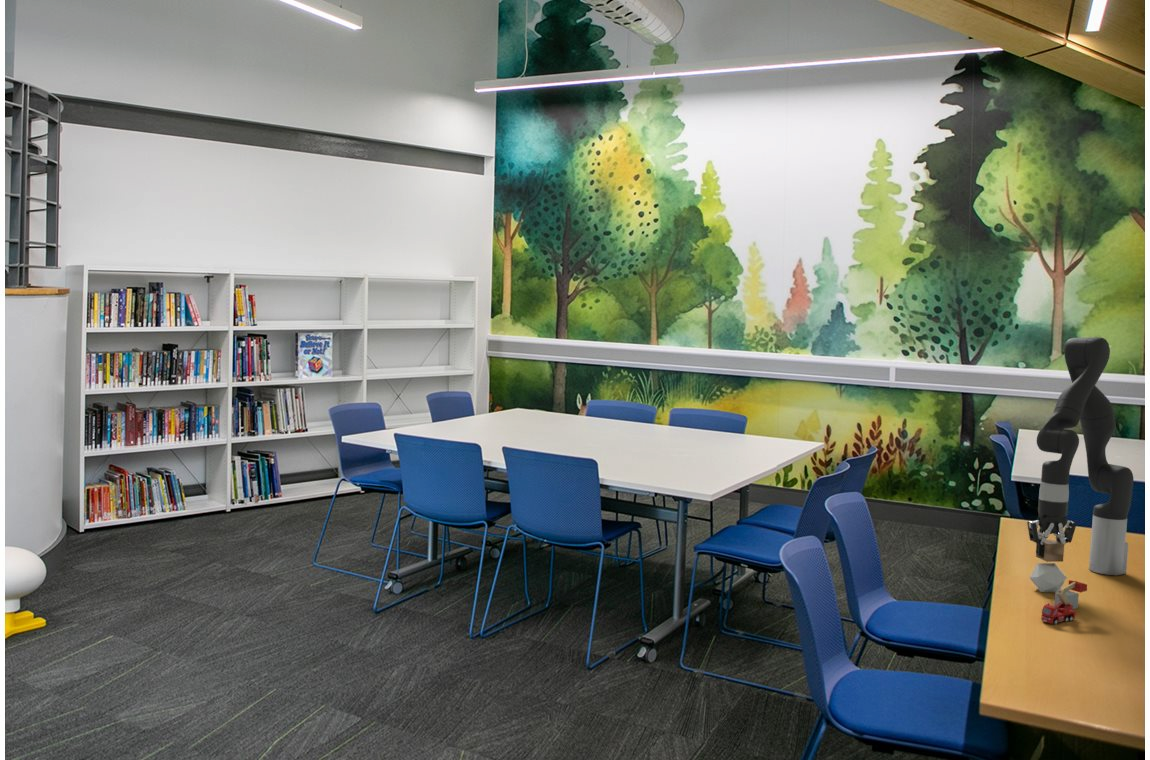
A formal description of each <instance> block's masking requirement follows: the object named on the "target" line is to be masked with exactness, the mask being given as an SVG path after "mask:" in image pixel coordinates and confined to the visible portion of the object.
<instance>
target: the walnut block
mask: <svg viewBox="0 0 1150 760" xmlns="http://www.w3.org/2000/svg"><path fill="white" fill-rule="evenodd" d="M1044 545H1045V548H1044V557H1043V558H1040V557H1038V556H1037V554H1036V553H1035V557H1036V558H1038V559H1040V560H1042V561H1045V563H1050V562H1051V563H1053V562H1054V563H1055V562H1064V557H1065V556H1064V555H1065V545H1064V544H1063V543H1060V542H1058V541H1056V539H1055V540H1054V539H1046V541H1045V543H1044Z"/></svg>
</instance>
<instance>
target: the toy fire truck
mask: <svg viewBox="0 0 1150 760" xmlns="http://www.w3.org/2000/svg"><path fill="white" fill-rule="evenodd" d="M1067 591H1072V592H1076V593H1084V592H1087V591H1088V584H1086V583H1084V582H1080V581H1077V580H1071V579H1069V580H1068V585H1066V586H1064V587H1063V588H1062V587H1061V589H1059V590H1058V592H1057V593H1056V595H1057V596H1058V598H1059V599H1060V601H1061V602H1060V603H1059V604H1057V605H1056V606H1055V605H1051V604H1050V603H1047V604H1044V605H1043V607H1042V610H1041V619H1040V620H1041V621H1043V622H1044V623H1048V624H1050V625H1051V624H1053V625H1057V624H1058V623H1061V622H1065V623H1067V622H1072V621H1073V620H1074V619H1076V613H1077V612H1076V610H1074V609H1073V605H1071V604H1070V602H1069V599H1068V597H1067V594H1066V592H1067Z"/></svg>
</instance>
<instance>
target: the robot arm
mask: <svg viewBox="0 0 1150 760" xmlns="http://www.w3.org/2000/svg"><path fill="white" fill-rule="evenodd" d="M1110 347H1111V346H1110V344H1109V342H1108V341H1107V339H1105V337H1101V336H1098V337H1097V336H1094V337H1090V336H1089V337H1071V338H1069V339H1067V341H1066V342H1065V343H1064V348H1063V354H1064V355H1063V356H1064V361H1065V365H1066V368H1067V371H1068V375H1069V378H1070V380H1071V381H1070V382H1071V383H1070V384H1069V385H1068V386H1067V387H1066V388H1065V389H1064V390H1063V391H1062V392H1061V394H1060V395H1059V396H1058V399H1057V401H1056V405H1055V407H1054V410H1053V412H1052V414H1051V416H1050V417H1049V418H1048V420H1047V421H1046V422H1045V423H1044V424H1043V425H1042V427H1041V428H1040V430H1039V431H1038V434H1037V436H1036V445H1037V447H1038V449H1039V450H1040V451H1042V452H1045V453H1051V454H1057V455H1058V454H1060V455H1061V456H1060V458H1059V459H1057V460H1048V461H1047V460H1046V461H1045V462H1043V463H1042V465H1041V466H1042V467H1041V480H1040V486H1039V493H1038V505H1037V512H1038V517H1037V518H1036V520H1033V521H1031V520H1028V521H1027V522H1026V524H1027V529H1028V536H1029V541H1031V542H1034V543H1035V545H1036V546H1035V555H1036V554H1037V556H1038V557H1040V558H1043V557H1044V548H1045V545H1044V543H1045V541H1046V540H1048V538H1049V536H1050V535H1052V534H1053V535H1054V537H1055V541H1058V542H1060V543H1063V544H1064V546H1065V545H1066V544H1067V543H1071V542H1072V541H1073V538H1074V534H1075V531H1076V527H1077V523H1076V522H1074V521H1072V520H1068V519H1067V516H1068V512H1069V511H1068V510H1069V501H1070V500H1069V497H1070V490H1069V489H1070V488H1069V487H1070V485H1069V484H1070V471H1071V468H1072V467H1071V466H1072V463H1073V460H1074V458H1075V455H1076V453H1077V451H1078V448H1079V446H1080V437H1079V435H1078V433H1077V431H1074V430H1073V428H1076V427H1077V426H1078V425H1079V423H1080V427H1081V430H1082V435H1083V440H1084V446H1085V447H1084V448H1085V452H1086V453H1085V454H1086V462H1087V474H1088V475H1087V476H1088V481H1089V485H1090V487H1091V488H1092V490H1094V491H1095V492H1096V493H1101V494H1106V495H1110V497H1109V501H1108V502H1106V503H1099V504H1095V505H1094V506H1093V509H1092V524H1091V537H1090V538H1091V539H1090V551H1089V562H1088V563H1089V564H1088V569H1089V570H1090V571H1091V572H1093V573H1096V574H1101V575H1107V576H1108V575H1109V576H1121V575H1123V574H1127V570H1128V569H1127V568H1128V566H1127V565H1128V556H1129V555H1128V553H1129V542H1127V541H1126V540H1127V539H1126V538H1127V526H1128V514H1129V511H1130V509H1131V505H1132V503H1131V502H1132V498H1133V497H1132V496H1133V488H1134V474H1133V472H1132V470H1131V469H1130V468H1129V467H1128V466H1127V467H1126V466H1123V465H1117V464H1111V463H1108V461H1107V460H1108V459H1107V455H1106V454H1107V453H1106V449H1107V445H1108V443H1109V442H1110V440H1111V438H1112V437H1113V435H1114V433H1115V430H1116V423H1117V422H1116V418H1115V411H1114V407H1113V405H1112V403H1111V401H1110V400H1109V398H1108V397H1107V396H1106V395H1105V393H1103V392H1102V391H1101V389H1099V388H1098V386H1096V385H1097V383H1098V381H1099V379H1100V378H1101V376H1102V374H1103V372H1104V370H1105V368H1106V367H1107V364H1108V362H1109V359H1110V354H1111V349H1110ZM1040 558H1039V559H1040Z"/></svg>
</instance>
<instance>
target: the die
mask: <svg viewBox="0 0 1150 760" xmlns="http://www.w3.org/2000/svg"><path fill="white" fill-rule="evenodd" d="M1067 578H1068V576H1067V575H1066V574H1065V573H1064V572H1063V571H1062V570H1061V569H1060V568H1059V566H1058V565H1057V564H1056V563H1055V562H1054V563H1053V562H1051V563H1050V562H1037V563H1036V565H1035V567H1034V569H1033V570H1032V572H1031V575H1030V576H1029V580H1030V581H1031V582H1032V583H1033V584H1034V586H1035V587H1036V588H1037V589H1038V590H1039V592H1040V593H1055V592H1056V591H1058V590H1059V589H1062V587H1063V585H1064V583H1065V581H1066V580H1067Z"/></svg>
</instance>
